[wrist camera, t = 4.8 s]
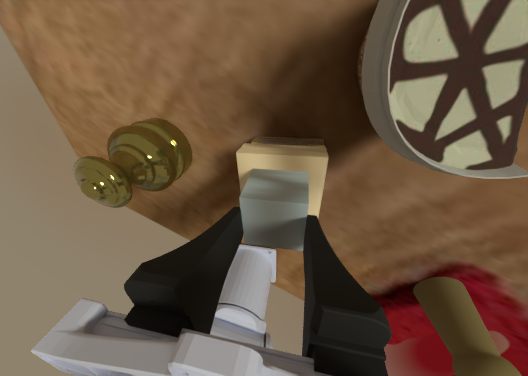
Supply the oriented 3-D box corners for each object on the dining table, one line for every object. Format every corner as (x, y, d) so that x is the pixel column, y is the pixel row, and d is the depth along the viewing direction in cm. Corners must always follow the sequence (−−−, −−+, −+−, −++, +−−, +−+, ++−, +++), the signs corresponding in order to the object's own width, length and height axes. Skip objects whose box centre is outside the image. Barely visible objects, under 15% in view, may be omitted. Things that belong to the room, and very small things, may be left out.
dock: (257, 183, 24) (253, 193, 22) (255, 135, 21) (250, 142, 19) (316, 188, 23) (316, 199, 21) (323, 138, 20) (324, 145, 18)
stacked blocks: (249, 204, 21) (230, 252, 16) (243, 142, 17) (216, 178, 12) (315, 210, 20) (318, 264, 15) (326, 145, 16) (334, 188, 11)
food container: (327, -10, 14) (352, -116, 6) (429, -63, 12) (693, -345, 4) (351, 147, 20) (382, 206, 11) (425, 128, 18) (528, 185, 9)
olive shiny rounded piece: (201, 174, 25) (147, 227, 17) (152, 174, 27) (81, 224, 18) (182, 114, 21) (101, 145, 13) (126, 119, 23) (23, 149, 15)
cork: (404, 296, 29) (447, 399, 20) (427, 272, 26) (490, 383, 17) (447, 306, 29) (511, 418, 20) (476, 283, 26) (569, 405, 16)
